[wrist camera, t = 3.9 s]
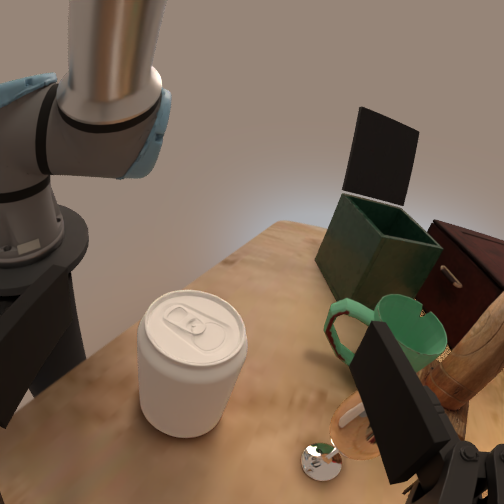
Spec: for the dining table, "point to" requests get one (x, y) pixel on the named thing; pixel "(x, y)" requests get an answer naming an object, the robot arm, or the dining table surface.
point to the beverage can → (188, 361)
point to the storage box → (462, 278)
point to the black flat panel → (380, 157)
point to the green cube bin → (374, 252)
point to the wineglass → (342, 441)
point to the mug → (393, 327)
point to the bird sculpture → (468, 366)
